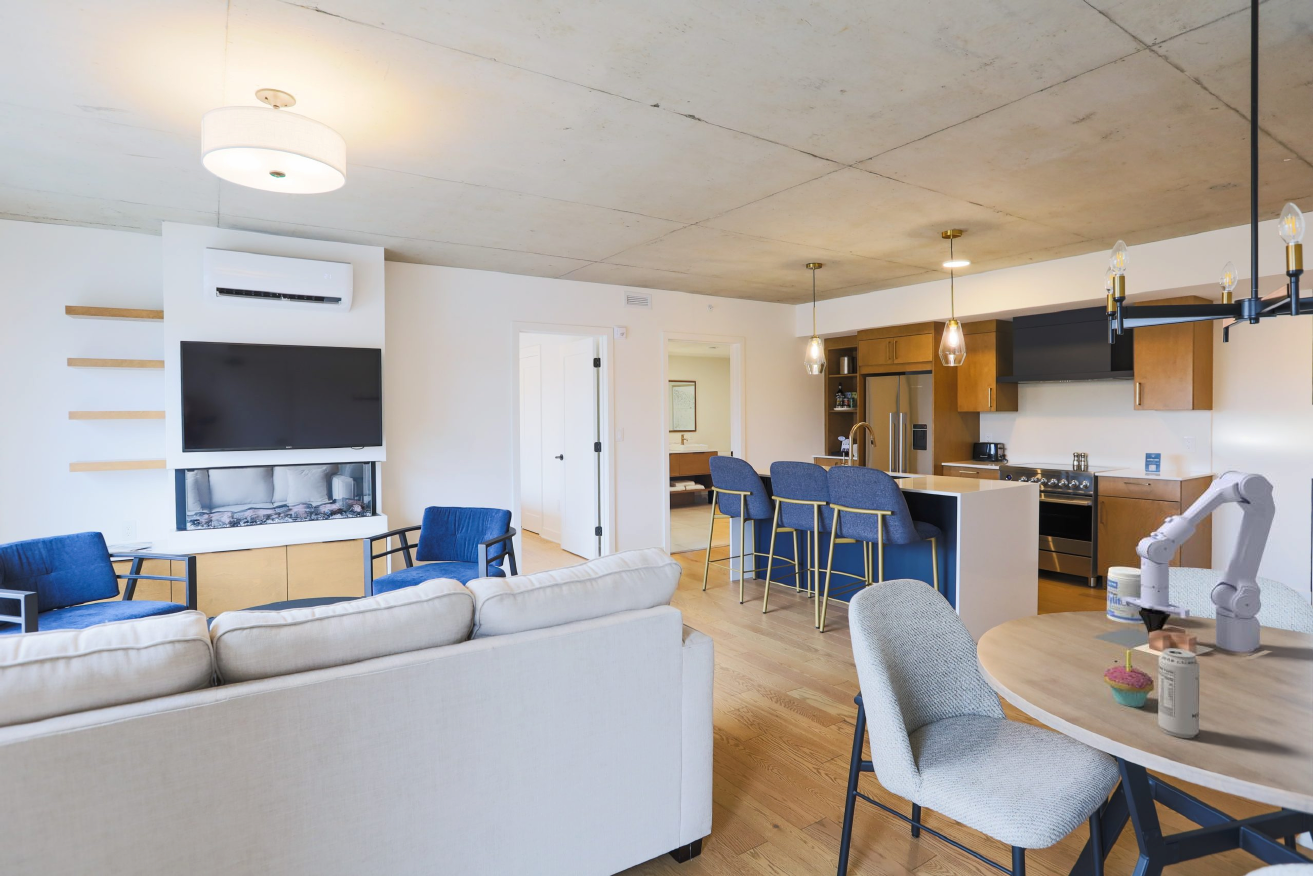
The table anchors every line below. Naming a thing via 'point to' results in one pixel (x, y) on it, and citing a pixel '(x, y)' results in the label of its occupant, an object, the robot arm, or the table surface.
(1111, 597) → the supplement tub
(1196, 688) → the energy drink can
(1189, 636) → the t block
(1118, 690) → the cupcake
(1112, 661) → the table surface
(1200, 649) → the board
